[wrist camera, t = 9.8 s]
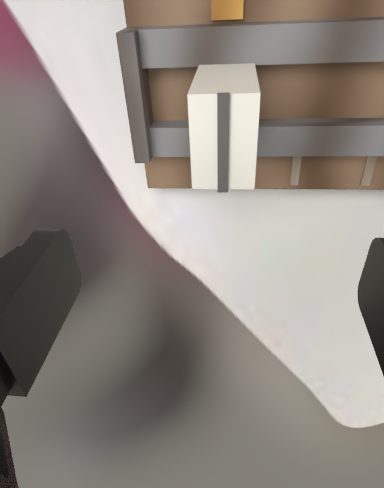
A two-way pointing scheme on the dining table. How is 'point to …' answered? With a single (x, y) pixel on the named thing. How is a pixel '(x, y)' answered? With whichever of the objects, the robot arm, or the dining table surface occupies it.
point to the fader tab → (224, 126)
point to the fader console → (262, 85)
